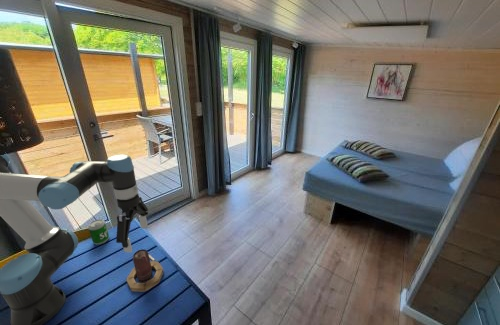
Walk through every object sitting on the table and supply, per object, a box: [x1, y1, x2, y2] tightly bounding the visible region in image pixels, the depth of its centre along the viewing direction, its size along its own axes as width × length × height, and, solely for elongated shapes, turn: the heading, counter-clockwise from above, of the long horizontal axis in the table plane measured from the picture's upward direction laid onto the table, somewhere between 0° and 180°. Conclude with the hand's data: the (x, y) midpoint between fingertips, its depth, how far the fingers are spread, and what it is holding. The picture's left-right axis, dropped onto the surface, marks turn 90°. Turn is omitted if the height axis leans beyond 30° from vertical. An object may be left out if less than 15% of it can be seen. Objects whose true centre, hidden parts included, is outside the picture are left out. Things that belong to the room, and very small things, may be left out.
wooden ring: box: [126, 260, 164, 293], centre depth 96 cm, size 14×14×2 cm
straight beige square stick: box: [149, 254, 156, 261], centre depth 107 cm, size 10×1×1 cm, turn 54°
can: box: [132, 249, 153, 283], centre depth 94 cm, size 6×6×14 cm
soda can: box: [87, 219, 110, 245], centre depth 114 cm, size 8×8×12 cm
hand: (137, 239), depth 88 cm, fingers open, 13 cm apart
